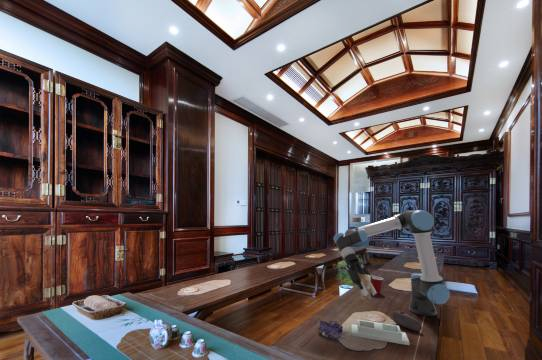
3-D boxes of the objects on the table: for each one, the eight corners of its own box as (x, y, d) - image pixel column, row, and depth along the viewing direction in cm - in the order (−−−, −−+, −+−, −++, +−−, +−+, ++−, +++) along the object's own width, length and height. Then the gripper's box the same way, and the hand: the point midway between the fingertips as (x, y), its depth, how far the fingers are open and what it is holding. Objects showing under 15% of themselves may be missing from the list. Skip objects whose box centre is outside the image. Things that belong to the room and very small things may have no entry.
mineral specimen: (317, 339, 124) (317, 330, 124) (320, 326, 137) (320, 317, 137) (341, 343, 120) (341, 334, 121) (342, 329, 133) (342, 321, 134)
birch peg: (370, 297, 138) (370, 275, 139) (370, 300, 133) (370, 277, 134) (360, 296, 140) (360, 273, 141) (360, 299, 135) (360, 276, 136)
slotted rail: (405, 335, 129) (405, 326, 129) (409, 345, 119) (409, 335, 120) (351, 327, 137) (351, 318, 137) (351, 335, 127) (351, 325, 128)
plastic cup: (385, 295, 192) (385, 279, 193) (370, 294, 194) (369, 278, 195) (382, 291, 202) (381, 275, 204) (367, 290, 205) (367, 274, 206)
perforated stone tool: (424, 332, 133) (423, 318, 134) (419, 334, 131) (418, 320, 131) (397, 321, 146) (396, 308, 147) (391, 323, 143) (391, 310, 144)
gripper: (358, 259, 156) (379, 296, 139) (334, 260, 149) (353, 299, 132) (364, 252, 152) (387, 289, 135) (340, 253, 144) (361, 292, 128)
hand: (370, 294), depth 133 cm, fingers closed on birch peg, 5 cm apart
